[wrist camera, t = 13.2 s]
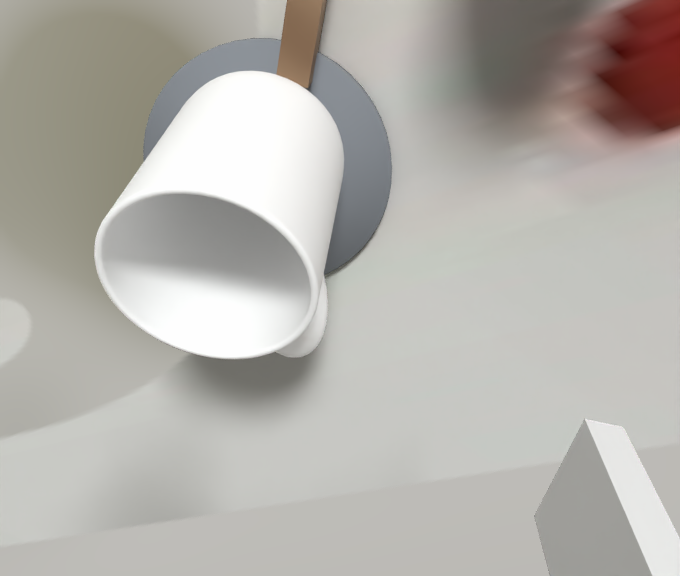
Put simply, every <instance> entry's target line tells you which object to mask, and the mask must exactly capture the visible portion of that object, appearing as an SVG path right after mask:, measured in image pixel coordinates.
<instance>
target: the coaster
mask: <svg viewBox="0 0 680 576" xmlns="http://www.w3.org/2000/svg"><path fill="white" fill-rule="evenodd" d="M280 46H281V40H278V39H271V38H251V39H245V40H237V41H233V42H230V43H226V44H222V45H219V46H217V47H215V48H212V49H210V50H208V51H206V52H204V53H202V54H200V55H198V56H197V57H195V58H194V59H192V60H191V61H189V62H188V63H186V64H185V65H184V66H183V67H182V68H181V69H180V70H178V71H177V72H176V73H175V74H174V75H173V76H172V78H171V79H170V80H169V81H168V83H167V84H166V85H165V86H164V88H163V89H162V91H161V93H160V94H159V96H158V98H157V99H156V101H155V103H154V106H153V108H152V111H151V113H150V115H149V119H148V123H147V127H146V131H145V139H144V161H145V160H146V158H147V157H148V155H149V154H150V153H151V151H152V150H153V148H154V147H155V145H156V144H157V143H158V141H159V140H160V138H161V137H162V135H163V134H164V133H165V131H166V130H167V128H168V127H169V125H170V124H171V123H172V121H173V120H174V118H175V117H176V115H177V114H178V113H179V111H180V110H181V108H182V107H183V105H184V104H185V103H186V101H187V100H188V99H189V98H190V97H191V96H192V95H193V94H194V93H195V92H196V91H197V90H198V89H200V88H201V87H202V86H204V85H205V84H206V83H208V82H209V81H211V80H213V79H215V78H217V77H219V76H222V75H225V74H228V73H233V72H238V71H262V72H267V73H272V74H277V67H278V60H279V53H280ZM303 88H305V87H303ZM305 89H306V90H308V91H309V92H310V93H311V94H313V95H314V96H315V97H316V98H317V99H318V100H319V101H320V102H321V103H322V104H323V105H324V106H325V108H326V109H327V111H328V112H329V113H330V115H331V116H332V118H333V120H334V122H335V123H336V125H337V128H338V131H339V133H340V136H341V140H342V144H343V152H344V171H343V179H342V184H341V189H340V194H339V199H338V204H337V209H336V214H335V219H334V224H333V229H332V234H331V239H330V244H329V249H328V254H327V259H326V264H325V269H324V275H325V274H327V273H329V272H331V271H333V270H335V269H337V268H338V267H340V266H341V265H343V264H344V263H346V262H347V261H349V260H350V259H351V258H352V257H353V256H354V255H355V254H357V253H358V252H359V251H360V250H361V249H362V247H363V246H364V245H365V244H366V243H367V242H368V241H369V239H370V238H371V236H372V235H373V233H374V232H375V230H376V229H377V227H378V225H379V223H380V221H381V218H382V216H383V214H384V211H385V208H386V205H387V202H388V198H389V193H390V187H391V175H392V164H391V153H390V146H389V142H388V137H387V133H386V130H385V127H384V125H383V122H382V119H381V117H380V115H379V113H378V111H377V109H376V107H375V105H374V103H373V102H372V100H371V99H370V97H369V96H368V94H367V93H366V92H365V90H364V89H363V87H362V86H361V85H360V84H359V83H358V82H357V81H356V80H355V79H354V78H353V77H352V76H351V74H349V73H348V72H347V71H346V70H345V69H343V68H342V67H341V66H340V65H338V64H337V63H336V62H334V61H333V60H331V59H329V58H328V57H326V56H325V55H323V54H321V53H319V52H318V53H317V56H316V62H315V67H314V73H313V79H312V83H311V84H310V86H309V87H308V88H305Z"/></svg>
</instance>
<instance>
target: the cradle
mask: <svg viewBox="0 0 680 576" xmlns="http://www.w3.org/2000/svg"><path fill="white" fill-rule="evenodd" d="M326 4H327V0H287V5H286V12H285V19H284V25H283V32H282V39H281V46H280V53H279V60H278V67H277V74H276V75H279V76H281V77H284V78H287V79H289V80H291V81H293V82H295V83H297V84H299V85H300V86H302V87H305V88H308V87H309V86H310V84H311V83H312V79H313V73H314V67H315V62H316V56H317V53H318V50H319V44H320V38H321V32H322V27H323V21H324V15H325V9H326Z"/></svg>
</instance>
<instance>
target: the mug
mask: <svg viewBox="0 0 680 576" xmlns="http://www.w3.org/2000/svg"><path fill="white" fill-rule="evenodd" d="M343 171H344V152H343V144H342V140H341V136H340V133H339V131H338V128H337V125H336V123H335V122H334V120H333V118H332V116H331V115H330V113H329V112H328V111H327V109H326V108H325V106H324V105H323V104H322V103H321V102H320V101H319V100H318V99H317V98H316V97H315V96H314V95H313V94H311V93H310V92H309V91H308V90H306V89H305V88H303V87H302V86H300V85H299V84H297V83H295V82H293V81H291V80H289V79H287V78H284V77H281V76H279V75H276V74H272V73H267V72H262V71H238V72H233V73H228V74H225V75H222V76H219V77H217V78H215V79H213V80H211V81H209V82H208V83H206V84H205V85H204V86H202V87H201V88H200V89H198V90H197V91H196V92H195V93H194V94H193V95H192V96H191V97H190V98H189V99H188V100H187V101H186V103H185V104H184V105H183V107H182V108H181V110H180V111H179V113H178V114H177V115H176V117H175V118H174V120H173V121H172V123H171V124H170V125H169V127H168V128H167V130H166V131H165V133H164V134H163V135H162V137H161V138H160V140H159V141H158V143H157V144H156V145H155V147H154V148H153V150H152V151H151V153H150V154H149V155H148V157H147V158H146V160H145V161H144V163H143V164H142V165H141V167H140V168H139V170H138V171H137V173H136V174H135V175H134V177H133V178H132V180H131V181H130V183H129V184H128V185H127V187H126V188H125V190H124V191H123V193H122V194H121V195H120V197H119V198H118V200H117V201H116V203H115V204H114V206H113V207H112V208H111V210H110V211H109V213H108V214H107V215H106V217H105V218H104V220H103V221H102V223H101V225H100V227H99V230H98V232H97V236H96V240H95V254H94V257H95V264H96V269H97V272H98V276H99V279H100V281H101V283H102V285H103V287H104V289H105V291H106V293H107V294H108V296H109V297H110V299H111V300H112V302H113V303H114V304H115V305H116V307H117V308H118V309H119V310H120V311H121V312H122V313H123V314H124V315H125V316H126V317H127V318H128V319H129V320H130V321H131V322H133V323H134V324H135V325H136V326H137V327H139V328H140V329H142V330H143V331H145V332H146V333H147V334H149V335H150V336H152V337H154V338H156V339H157V340H159V341H161V342H163V343H165V344H167V345H170V346H172V347H174V348H177V349H180V350H182V351H185V352H188V353H192V354H195V355H199V356H204V357H209V358H217V359H249V358H255V357H261V356H264V355H267V354H271V353H273V352H277V353H279V354H281V355H283V356H286V357H303V356H305V355H307V354H309V353H311V352H312V351H313V350H314V349H315V348H316V347H317V346H318V345H319V343H320V341H321V340H322V338H323V335H324V332H325V328H326V323H327V315H328V295H327V287H326V282H325V277H324V269H325V264H326V259H327V254H328V249H329V244H330V239H331V234H332V229H333V224H334V219H335V214H336V209H337V204H338V199H339V194H340V189H341V184H342V179H343Z"/></svg>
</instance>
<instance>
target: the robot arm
mask: <svg viewBox="0 0 680 576" xmlns="http://www.w3.org/2000/svg"><path fill="white" fill-rule="evenodd" d="M534 517H535V521H536V525H537V529H538V532H539V536H540V540H541V544H542V548H543V551H544V555H545V559H546V563H547V567H548V571H549V574H550V576H680V538H679V536H678V534H677V532H676V530H675V528H674V526H673V524H672V522H671V520H670V518H669V516H668V514H667V512H666V510H665V508H664V506H663V504H662V502H661V501H660V498H659V497H658V495H657V493H656V491H655V489H654V487H653V485H652V483H651V481H650V479H649V477H648V475H647V473H646V471H645V469H644V467H643V465H642V463H641V461H640V460H639V457H638V455H637V453H636V451H635V449H634V447H633V445H632V443H631V441H630V439H629V437H628V435H627V434H626V432H625V430H624V428H623V427H621V426H616V425H611V424H607V423H602V422H597V421H593V420H588V419H584V421H583V423H582V425H581V427H580V429H579V431H578V433H577V435H576V437H575V438H574V440H573V442H572V444H571V446H570V448H569V450H568V452H567V454H566V456H565V458H564V460H563V462H562V463H561V465H560V467H559V469H558V471H557V473H556V475H555V477H554V479H553V481H552V483H551V485H550V486H549V488H548V490H547V492H546V494H545V496H544V498H543V500H542V502H541V504H540V506H539V508H538V510H537V511H536V513H535V515H534Z"/></svg>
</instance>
